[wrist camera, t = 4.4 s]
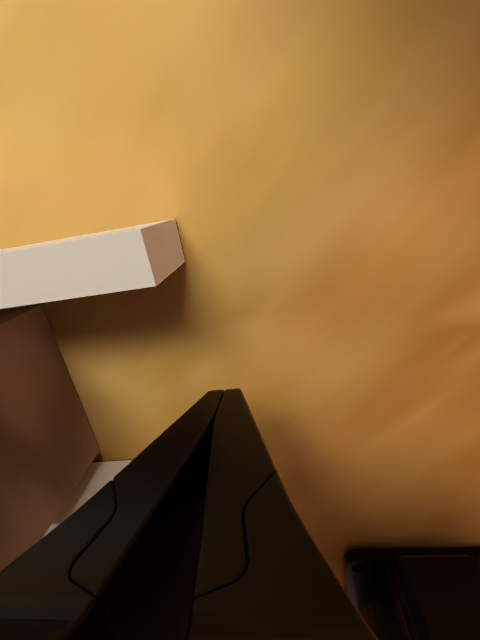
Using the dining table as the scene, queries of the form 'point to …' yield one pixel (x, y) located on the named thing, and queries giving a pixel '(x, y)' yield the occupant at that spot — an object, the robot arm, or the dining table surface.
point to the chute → (89, 292)
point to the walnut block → (36, 431)
